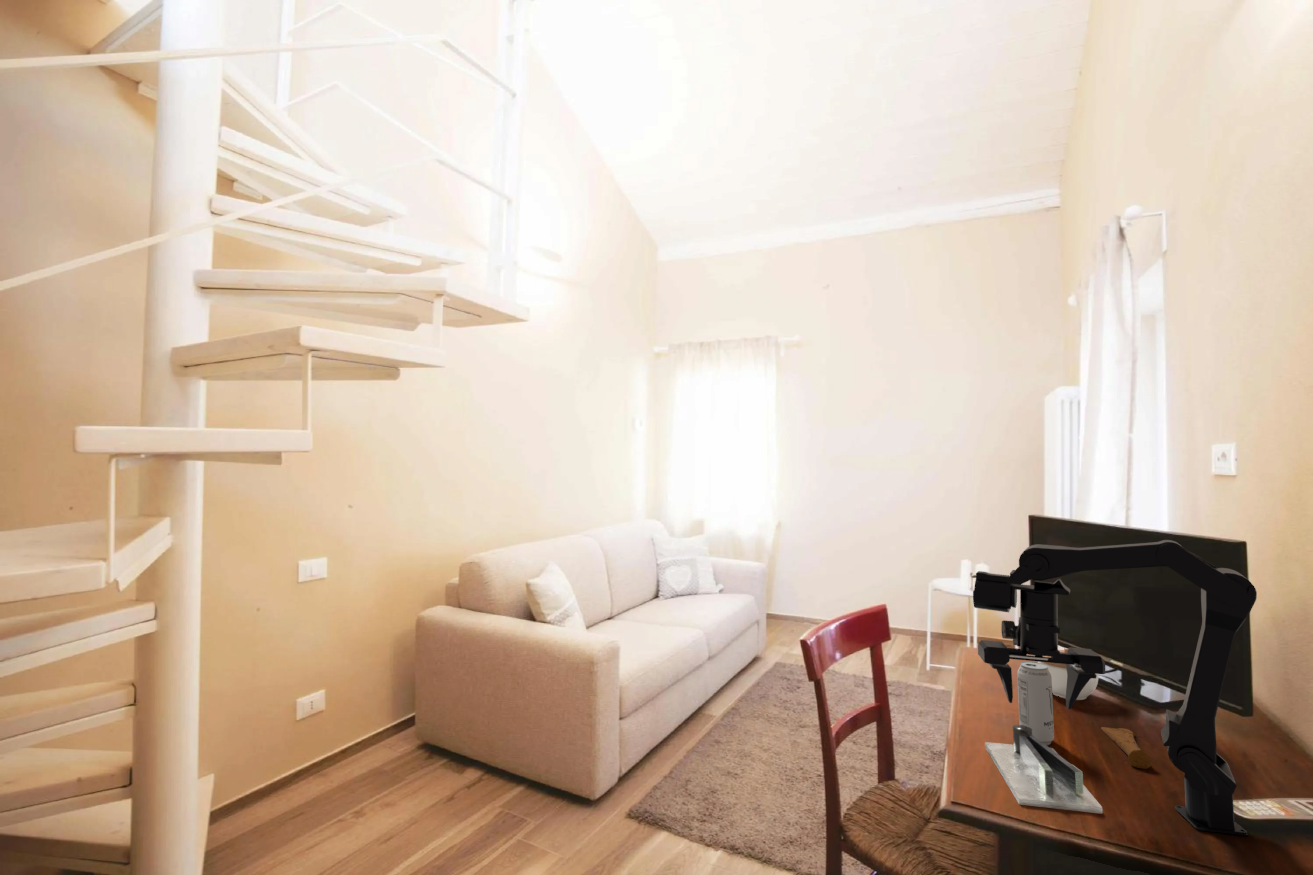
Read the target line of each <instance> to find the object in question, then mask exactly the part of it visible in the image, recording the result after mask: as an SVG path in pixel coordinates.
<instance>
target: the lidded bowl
mask: <svg viewBox="0 0 1313 875" xmlns="http://www.w3.org/2000/svg"><path fill="white" fill-rule="evenodd" d="M1068 649H1069V647H1068V648H1064V649H1058V650H1059V651H1060V652H1063V653H1067V651H1068ZM1043 657H1049V656H1043ZM1037 663H1042V664H1044V665H1046V666H1047V667H1048V668H1047V669H1048V671H1049V672H1050V674H1051V676H1052V693H1053V694H1052V695H1054V696H1056V697H1058V696H1059V697H1058V698H1061V699H1065V700H1066V687H1067V669H1066V664H1061V663H1050V662H1039V661H1037ZM1099 676H1100V674H1096V678H1091V679H1090V680H1089V681H1088V682H1087V684H1086V685H1085V686H1084V688H1083V689H1082V690H1081V692H1080V694H1079V695H1078V697H1077V699H1076V701H1083V700H1086V699H1088V697H1089V696H1090V695H1091V694H1092V693H1093V692H1095V690H1096V688H1097V686H1098V683H1099Z"/></svg>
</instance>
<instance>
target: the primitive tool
mask: <svg viewBox="0 0 1313 875" xmlns="http://www.w3.org/2000/svg"><path fill="white" fill-rule="evenodd" d="M1100 729H1101V730H1102V731H1103V732H1104V733H1105V734H1106V735H1107V736H1108V737H1109V738H1110V739H1111V740H1112V741H1113V742H1114V743H1116V745H1117V746H1118V747H1119V748H1120V749H1121V750H1122V751H1123V752H1124V753H1125V754H1126V755H1127V759H1128V760H1127V761H1128V763H1129V764H1130V766H1132V767H1133V768H1138V769H1143V770H1144V769H1145V770H1147V769H1150V768H1151V767H1152V765H1153V760H1152V758H1151V756H1150V755H1149V754H1148V753H1147V752H1146V751H1145V750H1142V749H1141V748H1140V747H1139V745H1138V744H1137V743H1138V742H1136V739H1135V737H1136V734H1135V733H1134V732H1133V731H1132V730H1130V729H1128V728H1123V727H1122V728H1120V727H1119V728H1114V727H1105V726H1101V727H1100Z"/></svg>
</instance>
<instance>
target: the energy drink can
mask: <svg viewBox="0 0 1313 875" xmlns="http://www.w3.org/2000/svg"><path fill="white" fill-rule="evenodd" d="M1047 668H1048V667H1047V666H1046V665H1044V664H1042V663H1038V661H1022V662H1020V666H1019V668H1018V670H1017V673H1016V674H1017V675H1016V677H1017V695H1018V696H1017V699H1018V700H1017V702H1018V725H1024V726H1027V727H1030V728H1031V729H1032V735H1033V736H1035V737H1036V738H1037V739H1039V740H1040V741H1041V742H1043V743H1044V744H1045V745H1046V746H1049V745H1051V744H1052V741H1054V740H1055V728H1054V706H1053V705H1054V704H1053V694H1052V676H1051V674H1050V672H1049V671H1048V669H1047Z"/></svg>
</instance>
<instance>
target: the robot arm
mask: <svg viewBox="0 0 1313 875" xmlns="http://www.w3.org/2000/svg"><path fill="white" fill-rule="evenodd" d="M1153 567H1154V568H1155V567H1168V568H1169V569H1171V570H1172V571H1174V572H1176V573H1177V574H1178V575H1180V576H1181V577H1184V578H1185V579H1186V580H1188V581H1189V582H1191V583H1193V584H1194V585H1195V586H1197V587H1198V588H1200V602H1201V603H1200V604H1201V617H1202V618H1201V619H1202V620H1201V621H1202V622H1201V627H1200V632H1199V635H1198V640H1197V644H1196V649H1195V653H1194V657H1193V661H1192V664H1191V670H1190V674H1189V679H1188V682H1187V686H1186V690H1185V694H1184V699H1183V704H1182V705H1181V706H1180V708H1179V709H1178V711H1177V712H1174V711H1172V710H1170V709H1166V710H1165V724H1164V726H1163V727H1162V728H1161V729H1160V734H1161V739H1162V743H1163V746H1164V747H1166V750H1167V755H1168V758H1169V760H1170V761H1171V763H1172V765H1173V766H1174V767H1175V768H1177V769H1178V770H1179V771H1180V772H1183V773H1184V775H1183V778H1184V779H1183V780H1184V782H1183V783H1184V800H1185V801H1184V802H1185V805H1175V806H1174V809H1175V810H1176V811H1177V812H1178V813H1179V814H1180V815H1181V816H1182V817H1183V818H1185V820H1187V822H1188V823H1190V825H1192V826H1193V827H1194V828H1195V829H1196V830H1199V831H1203V832H1204V831H1205V832H1211V833H1212V832H1213V833H1220V834H1229V835H1231V834H1232V835H1238V836H1239V835H1240V836H1247V835H1248V831H1247V830H1246V829H1245V828H1243V826H1241V825H1240V823H1237V821H1235V810H1234V809H1235V808H1234V806H1235V805H1234V793H1235V791H1236V789H1237V782H1236V781H1235V778H1234V775H1233V773H1232V771H1231V768H1230V766H1229V763H1228V762H1227V761H1226V760H1225V759H1224V758H1223V757H1221V755H1219V754H1218V752H1217V736H1216V735H1217V733H1216V717H1217V712H1218V708H1219V704H1220V699H1221V697H1222V692H1223V691H1222V690H1223V689H1224V688H1223V687H1224V683H1225V679H1226V675H1227V670H1228V666H1229V662H1230V657H1231V654H1232V650H1233V645H1234V642H1235V637H1236V634H1237V632H1239V630H1240V628H1241V627H1242V625H1243V624H1244V623H1245V621H1246V620H1247V618H1248V616H1249V615H1250V613H1251V611H1252V609H1253V607H1254V604H1255V603H1256V601H1257V590H1256V587H1255V586H1254V584H1253V583H1252V582H1251V581H1250V580H1249V579H1248V578H1247V577H1245V575H1242V573H1240V572H1239V571H1237V570H1234V569H1232V568H1227V567H1219V568H1218V567H1216V566H1215V565H1214V564H1212V563H1210V562H1209V561H1207V560H1205V559H1203V558H1202V557H1200V556H1199V555H1196V554H1195V553H1193V552H1191V551H1189V550H1188V549H1186V548H1185V547H1183V546H1182V545H1181V544H1179V542H1177V541H1175V540H1171V539H1163V540H1160V541H1154V542H1141V543H1140V542H1138V543H1127V544H1117V545H1116V544H1113V545H1101V546H1100V545H1099V546H1087V547H1074V546H1072V547H1070V546H1065V545H1054V544H1053V545H1051V544H1037V543H1036V544H1031V545H1030V546H1028V547H1026V548H1025V549H1024V550H1023V551H1022V553H1021V554H1020V555H1019V559H1018V566H1017V568H1016V569H1012V570H1011V571H1010V573H1009V575H1007V574H1000V573H991V572H988V571H982V570H981V571H980V570H979V571H977V572H976V573H975V581H974V589H973V591H972V603H973V607H974V609H980V610H988V611H995V612H1003V613H1010V611H1011V610H1012V608H1014V609H1015V608H1017V604H1018V603H1017V602H1018V591H1019V592H1020V593H1019V594H1020V596H1019V597H1020V598H1019V599H1020V600H1019V601H1020V602H1019V604H1020V605H1019V606H1020V612H1019V613H1020V614H1019V615H1020V616H1019V617H1018V625H1016V624H1015V621H1013V620H1002V621H1001V627H1000V628H1001V630H1000V631H1001V636H1002V639H1004V640H1005V639H1007V640H1012V644H1013V646H1016V647H1019V648H1016V647H1008V646H1006V644H1004V642H1003V641H1000V640H999V641H997V640H986V639H980V641H979V642H978V644H977V655H978V656H979V657H980V659H981V660H982V662H983V663H985V664H988V665H990V667H991V668H992V669H994V670H996V671H997V673H998V676H999V679H1000V681H1001V684H1002V687H1003V690H1004V692H1005V696H1006V698H1007V701H1008V702H1009V703H1010V704H1012V703H1013V699H1014V698H1013V697H1014V691H1013V675H1012V671H1013V670H1012V667H1011V666H1010V664H1008V663H1009V662H1010V660H1017V661H1019V660H1020V661H1027V662H1038V661H1039V662H1050V663H1061V664H1066V669H1067V687H1066V699H1065V706H1066V709H1067V710H1071V709H1073V706H1074V705H1075V703H1076V701H1077V700H1076V699H1077V697H1078V695H1079V694H1080V692H1081V690H1082V689H1083V688H1084V686H1085V685H1086V684H1087V682H1088V681H1089V680H1090V679H1091V678H1096V674H1099V675H1105V674H1106V662H1105V659H1104V658H1103V657H1102V656H1101V655H1099V654H1098V653H1097V652H1095V651H1093V649H1091V648H1082V647H1071V646H1070V647H1068V651H1067V653H1063V652H1060V651H1059V650H1060V649H1059V641H1058V640H1059V637H1058V636H1059V635H1058V634H1060V632H1061V629H1060V627H1059V624H1058V623H1059V617H1058V616H1059V615H1058V610H1059V609H1058V608H1059V607H1058V606H1059V605H1058V603H1059V602H1058V599H1059V598H1058V596H1059V595H1061V596H1069V595H1070V593H1071V589H1070V588H1069V587H1068V586H1067V585H1065V583H1063V581H1062V579H1061V578H1062V577H1065V576H1068V575H1071V574H1076V573H1079V572H1086V571H1103V570H1104V571H1105V570H1119V569H1120V570H1121V569H1135V568H1136V569H1137V568H1140V569H1141V568H1153ZM1056 578H1058V579H1056ZM1050 579H1056V580H1055V581H1054V582H1048V581H1047V580H1050ZM1032 580H1034V583H1033V584H1034V585H1033V584H1025V583H1028V582H1029V581H1032ZM1043 656H1049V657H1043ZM1234 821H1235V822H1234Z"/></svg>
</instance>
